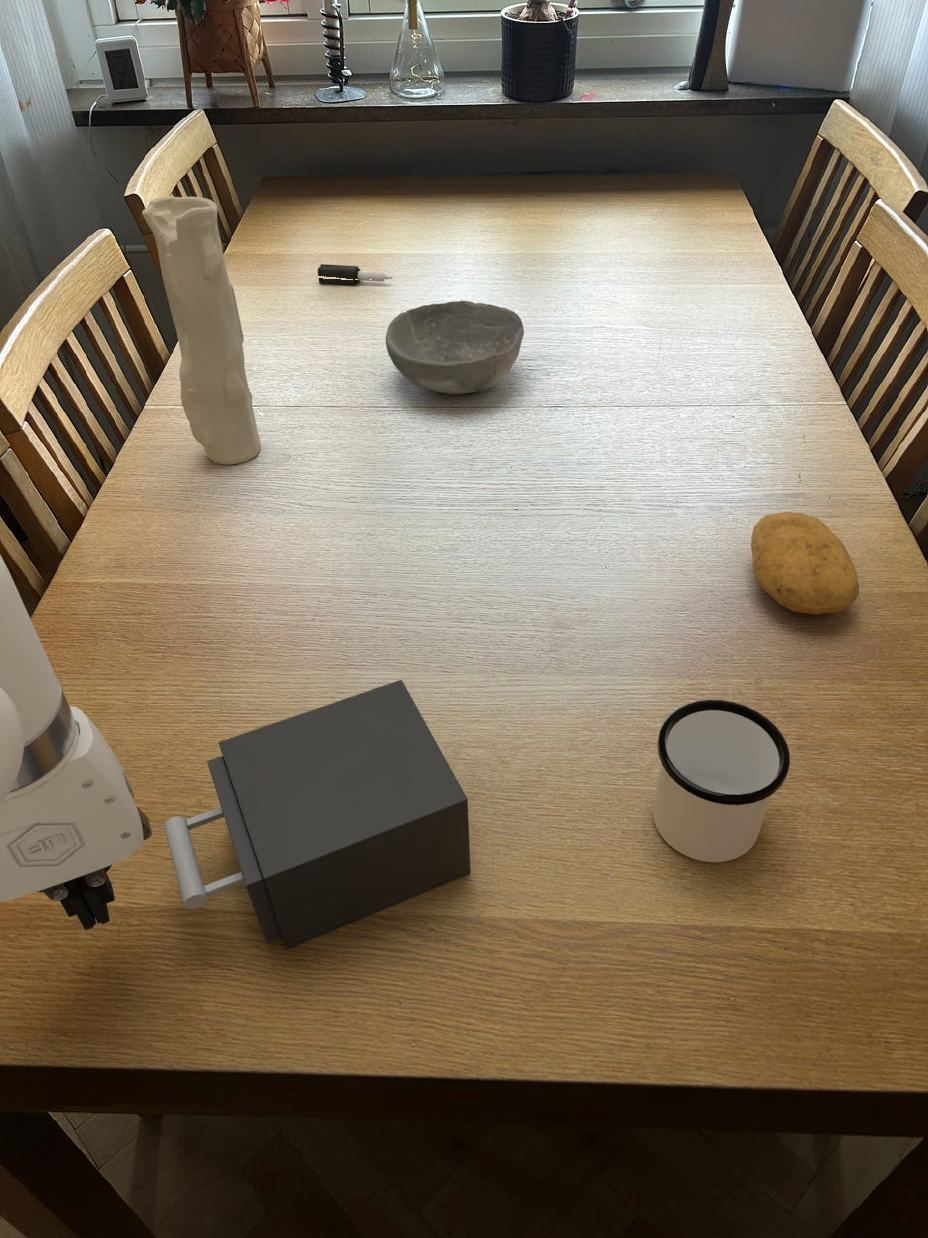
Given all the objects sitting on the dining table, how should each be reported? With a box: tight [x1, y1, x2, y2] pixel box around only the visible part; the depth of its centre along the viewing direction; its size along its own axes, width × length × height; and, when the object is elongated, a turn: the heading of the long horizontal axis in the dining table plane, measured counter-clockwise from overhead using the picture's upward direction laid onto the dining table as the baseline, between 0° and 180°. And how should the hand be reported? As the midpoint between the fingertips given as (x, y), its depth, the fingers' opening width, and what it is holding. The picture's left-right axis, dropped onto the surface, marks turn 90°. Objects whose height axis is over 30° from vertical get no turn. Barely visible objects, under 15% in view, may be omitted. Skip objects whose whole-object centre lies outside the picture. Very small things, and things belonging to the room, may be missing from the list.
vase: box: [141, 195, 261, 465], centre depth 104 cm, size 9×8×30 cm
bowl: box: [385, 300, 525, 395], centre depth 123 cm, size 18×18×8 cm
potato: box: [750, 511, 860, 615], centre depth 91 cm, size 9×13×7 cm
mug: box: [651, 698, 791, 863], centre depth 72 cm, size 12×10×9 cm
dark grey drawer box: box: [218, 679, 472, 950], centre depth 70 cm, size 15×13×10 cm
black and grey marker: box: [317, 263, 394, 286], centre depth 148 cm, size 2×2×12 cm
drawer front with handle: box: [163, 755, 283, 944], centre depth 69 cm, size 18×11×8 cm, turn 114°
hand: (95, 908), depth 64 cm, fingers closed
